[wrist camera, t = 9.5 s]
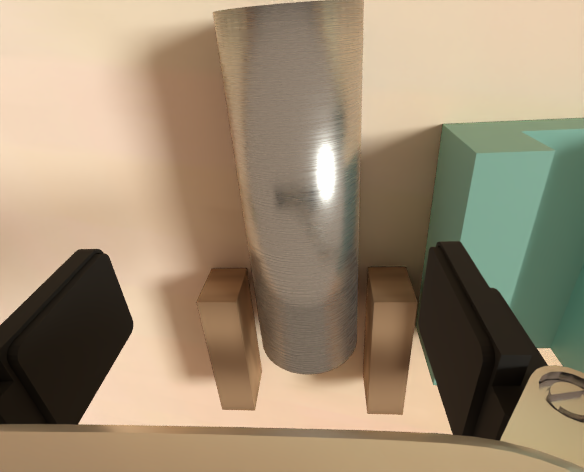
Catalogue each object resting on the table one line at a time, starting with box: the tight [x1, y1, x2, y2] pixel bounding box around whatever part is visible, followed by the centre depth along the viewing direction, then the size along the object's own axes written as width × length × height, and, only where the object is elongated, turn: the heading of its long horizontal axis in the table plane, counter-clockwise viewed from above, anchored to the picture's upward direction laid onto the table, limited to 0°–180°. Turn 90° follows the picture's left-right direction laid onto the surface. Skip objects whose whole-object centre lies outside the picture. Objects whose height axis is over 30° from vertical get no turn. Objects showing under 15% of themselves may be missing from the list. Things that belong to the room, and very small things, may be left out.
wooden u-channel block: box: [197, 267, 418, 415], centre depth 26 cm, size 10×13×4 cm
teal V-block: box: [416, 118, 584, 385], centre depth 20 cm, size 14×11×5 cm
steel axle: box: [213, 0, 364, 374], centre depth 19 cm, size 18×6×6 cm, turn 4°
